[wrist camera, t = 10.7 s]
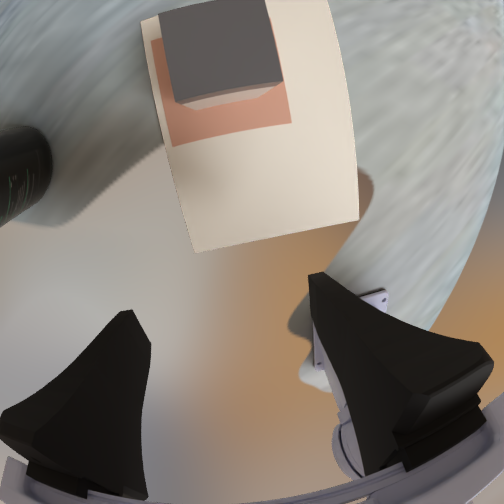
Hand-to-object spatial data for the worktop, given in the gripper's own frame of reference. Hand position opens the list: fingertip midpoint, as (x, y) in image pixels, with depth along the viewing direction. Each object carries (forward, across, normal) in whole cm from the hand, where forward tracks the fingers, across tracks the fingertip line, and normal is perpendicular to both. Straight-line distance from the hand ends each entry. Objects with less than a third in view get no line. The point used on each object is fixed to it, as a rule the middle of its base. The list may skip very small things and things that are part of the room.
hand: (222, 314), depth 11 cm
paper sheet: (+10, -4, -7) cm, 13 cm away
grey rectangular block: (+10, -2, -10) cm, 14 cm away
